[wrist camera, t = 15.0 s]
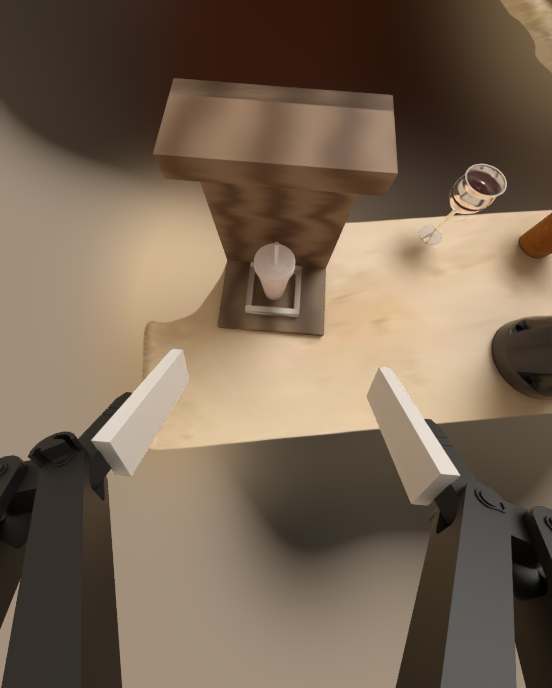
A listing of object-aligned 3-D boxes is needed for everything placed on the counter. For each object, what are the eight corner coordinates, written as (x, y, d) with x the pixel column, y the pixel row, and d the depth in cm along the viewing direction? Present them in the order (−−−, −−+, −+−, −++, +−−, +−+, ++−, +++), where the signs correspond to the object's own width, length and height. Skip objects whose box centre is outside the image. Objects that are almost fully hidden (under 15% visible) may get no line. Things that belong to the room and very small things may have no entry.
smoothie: (265, 311, 39) (261, 269, 26) (252, 283, 41) (242, 229, 27) (295, 299, 40) (307, 251, 26) (282, 272, 41) (287, 213, 28)
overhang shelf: (324, 262, 43) (392, 95, 19) (322, 335, 40) (402, 248, 15) (229, 254, 43) (173, 78, 19) (219, 327, 40) (133, 226, 15)
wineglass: (440, 220, 46) (498, 162, 34) (450, 246, 44) (513, 195, 33) (411, 223, 46) (459, 165, 34) (419, 249, 44) (472, 198, 32)
